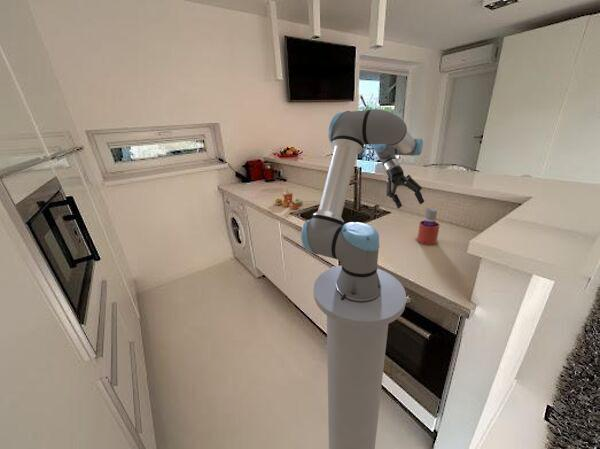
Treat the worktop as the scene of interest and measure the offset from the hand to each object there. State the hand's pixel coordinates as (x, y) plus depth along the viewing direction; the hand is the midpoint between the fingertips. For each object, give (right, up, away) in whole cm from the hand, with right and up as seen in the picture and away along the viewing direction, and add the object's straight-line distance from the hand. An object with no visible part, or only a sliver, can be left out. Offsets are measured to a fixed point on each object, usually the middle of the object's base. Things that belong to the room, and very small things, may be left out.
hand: (411, 205), depth 120 cm
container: (+5, -17, -4) cm, 18 cm away
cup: (+5, -18, -4) cm, 19 cm away
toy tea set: (-62, +5, +60) cm, 86 cm away
